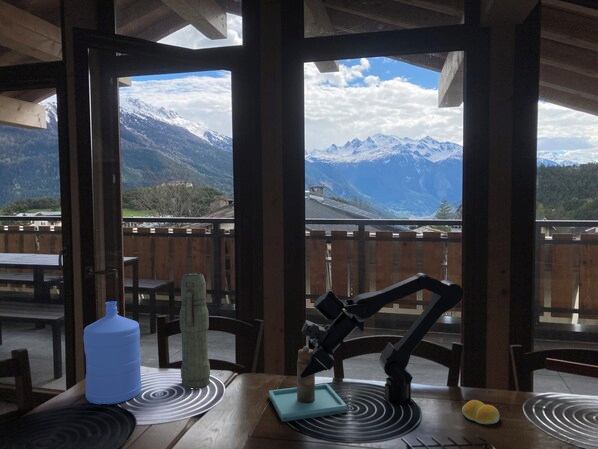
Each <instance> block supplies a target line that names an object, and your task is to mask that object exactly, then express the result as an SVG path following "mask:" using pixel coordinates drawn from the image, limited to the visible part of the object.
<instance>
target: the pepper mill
mask: <svg viewBox="0 0 598 449" xmlns="http://www.w3.org/2000/svg"><path fill="white" fill-rule="evenodd" d="M312 351H313V350H312V349H309V347H308V345H304V346H303V347H302V348H300V349H299V350H298V351H297V352H298V353H297V354H298V355H297V361H296V369H297V370H296V372H297V373H296V375H297V376H296V378H297V379H296V380H297V381H296V385H297V386H296V387H297V401H298V402H300V403H312V402H314V401H315V385H316V373H315V374H312V375H309V376H307V377H304V378H302V377H301V376H300V374H301V372H302V371H303V370H304V368H305V367H306V365H307V364H308V363H309V361H310V360H311V352H312Z"/></svg>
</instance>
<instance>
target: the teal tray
mask: <svg viewBox="0 0 598 449" xmlns="http://www.w3.org/2000/svg"><path fill="white" fill-rule="evenodd" d="M268 398H269V399H270V401H271V402H270V403H271V404H272V405H273V407H274V409H275V411H276V413H277V415H278V416H279V419H280V420H281V422H282V423H283V422H291V421H298V420H305V419H311V418H312V419H313V418H320V417H325V416H332V415H339V414H346V413H348V406H347V404H346V402H344V401H343V399H342V398H341V397H340V396H339V395H338V393H336V391H335V390H334V389H333V388H332V387H331V386H330V384H328V383H322V384H321V383H320V384H315V401H314V402H312V403H300V402H298V401H297V386H296V387H288V388H287V387H286V388H279V389H271V390H268Z"/></svg>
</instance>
